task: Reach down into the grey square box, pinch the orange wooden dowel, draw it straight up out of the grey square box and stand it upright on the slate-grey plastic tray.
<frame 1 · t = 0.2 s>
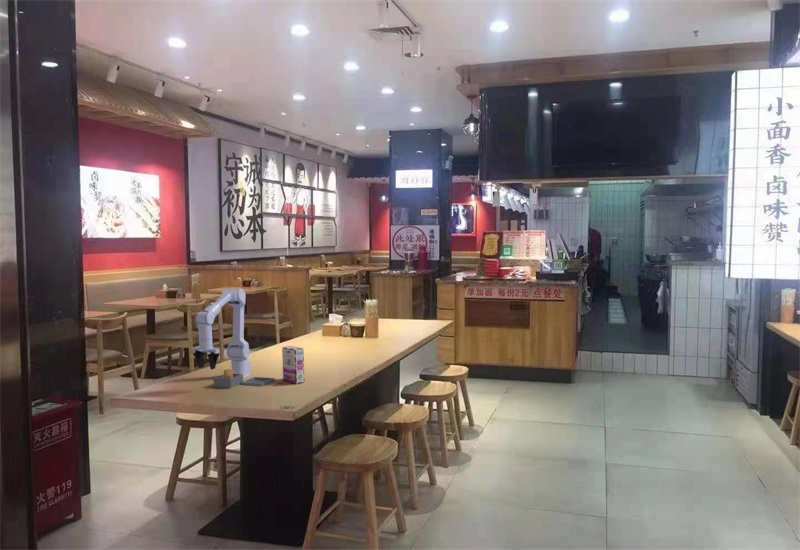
hand: (207, 368, 277), 10 cm above the table, fingers open, 7 cm apart
candy bar box: (293, 382, 289), on the table
dowel: (228, 385, 283), point 1 cm above the table, touching grey square box
grey square box: (228, 386, 283), on the table
tray: (258, 383, 286), on the table
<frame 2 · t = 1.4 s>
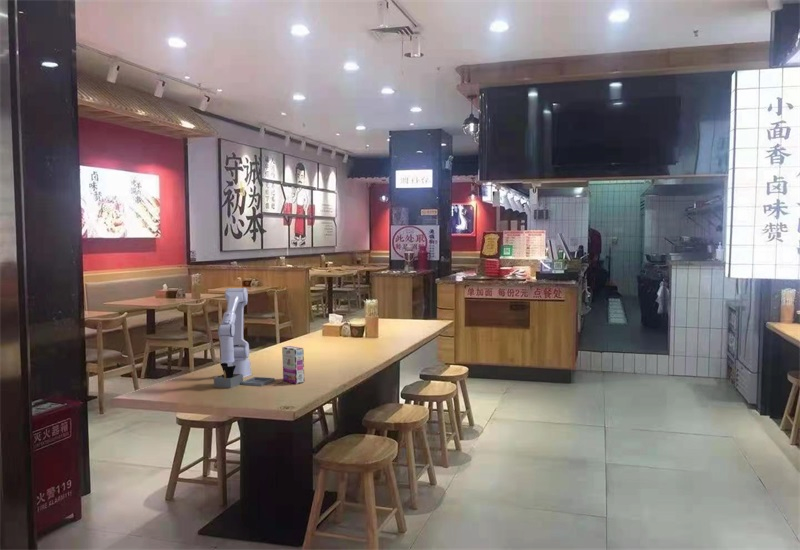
hand: (228, 379, 282), 3 cm above the table, fingers open, 6 cm apart
nothing on the table moved.
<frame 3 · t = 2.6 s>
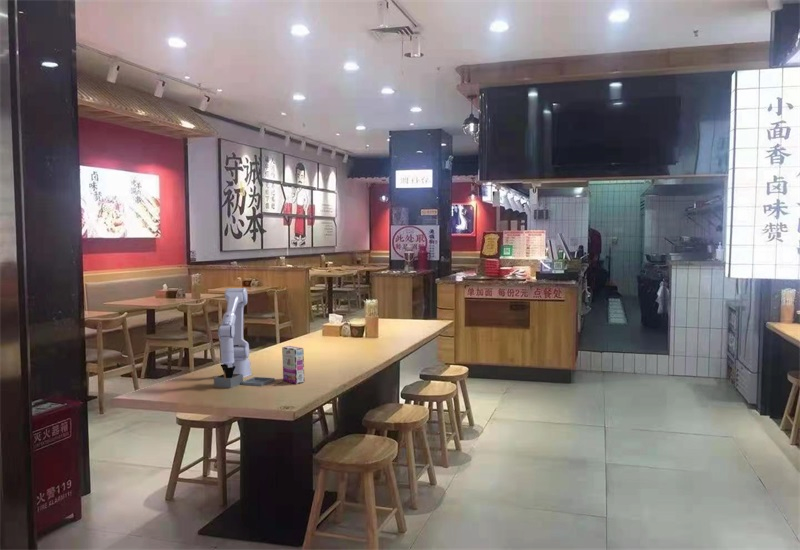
hand: (228, 380, 283), 3 cm above the table, fingers closed on dowel, 4 cm apart
dowel: (228, 385, 283), point 1 cm above the table, touching grey square box, gripper
everything else where it was.
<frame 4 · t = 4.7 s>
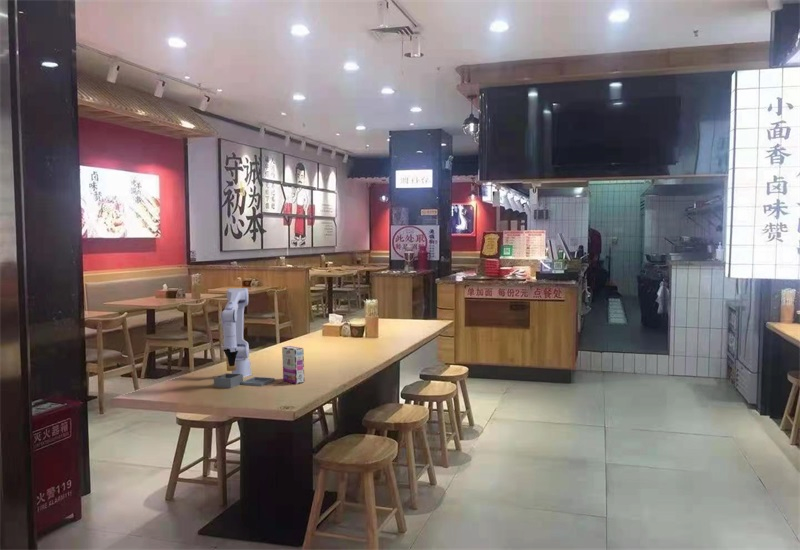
hand: (231, 365, 283), 10 cm above the table, fingers closed on dowel, 4 cm apart
dowel: (231, 370, 283), point 8 cm above the table, touching gripper
everything else where it was.
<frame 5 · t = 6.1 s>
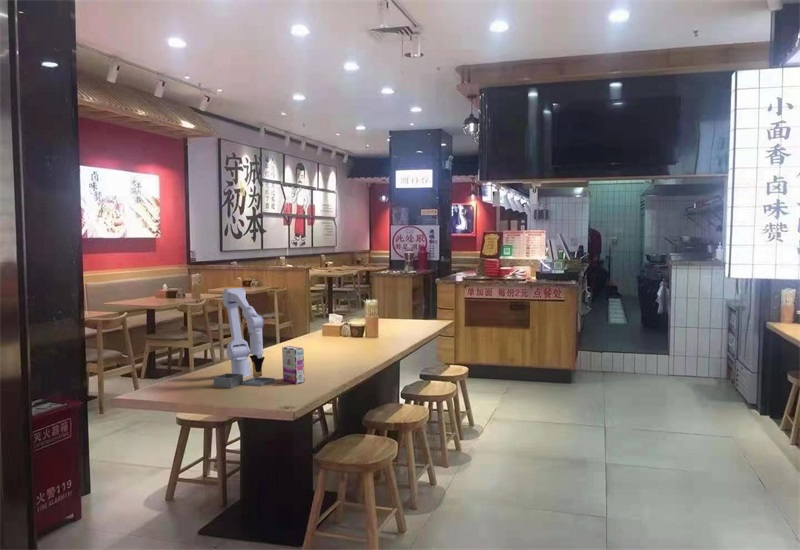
hand: (257, 371, 286), 6 cm above the table, fingers closed on dowel, 4 cm apart
dowel: (257, 376, 286), point 4 cm above the table, touching gripper
everything else where it was.
when the fingers open (4 cm above the table, at t = 7.2 s): dowel drops 1 cm, resting on tray.
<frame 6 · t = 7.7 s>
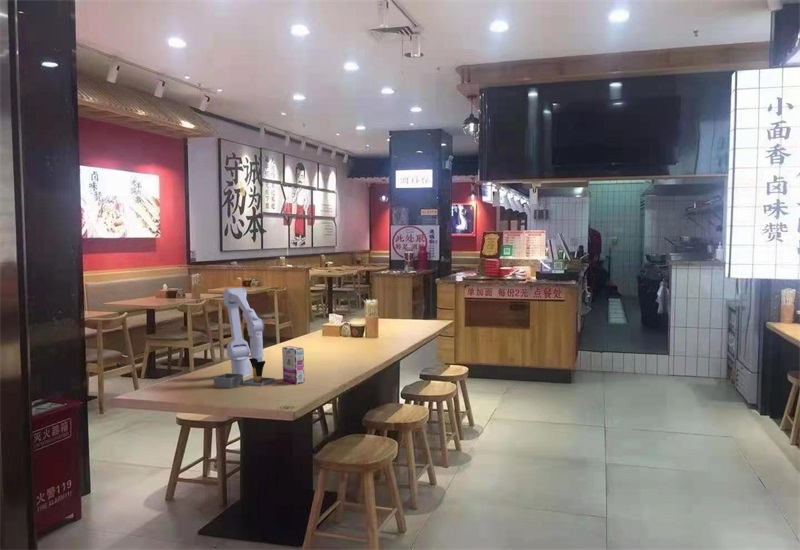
hand: (257, 374, 286), 4 cm above the table, fingers open, 7 cm apart
dowel: (257, 382, 286), point 1 cm above the table, touching tray
everything else where it was.
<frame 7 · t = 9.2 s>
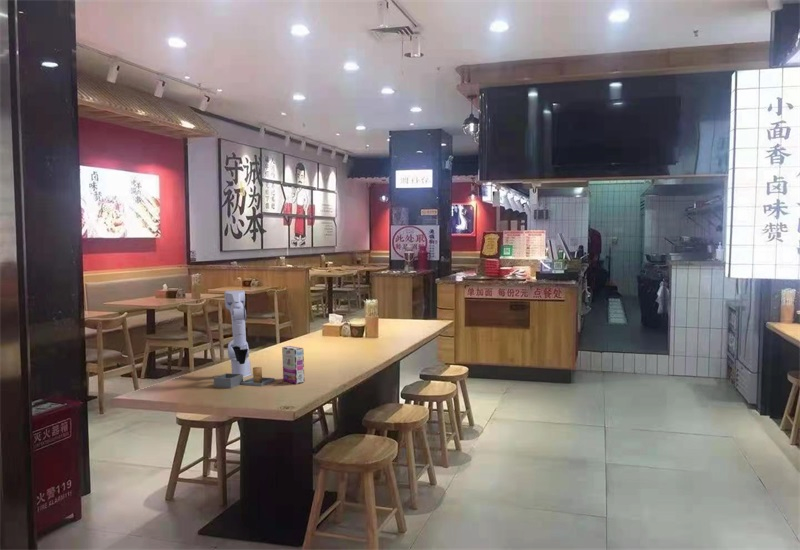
hand: (240, 362, 288), 10 cm above the table, fingers open, 7 cm apart
nothing on the table moved.
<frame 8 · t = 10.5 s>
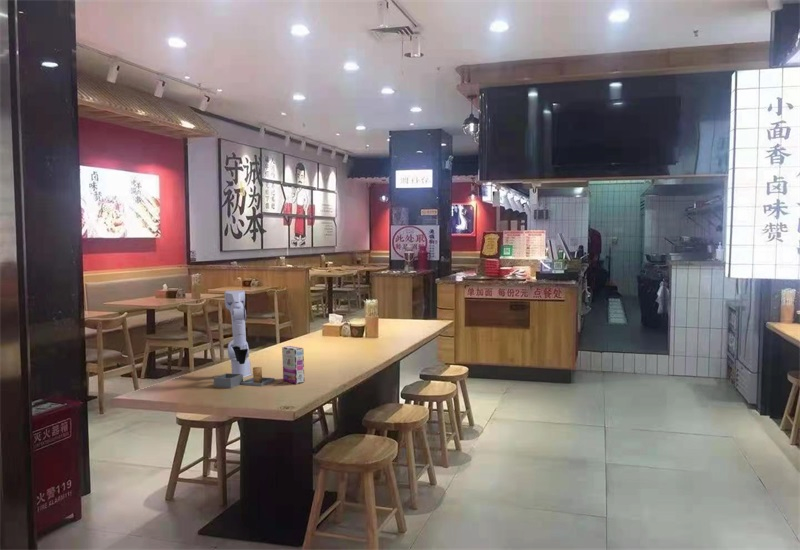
hand: (240, 362, 288), 10 cm above the table, fingers open, 7 cm apart
nothing on the table moved.
at the end: dowel 0.1 cm off-centre on the tray, point 0.6 cm above the tray's base; dowel tilted 0°; the gripper is holding nothing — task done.
